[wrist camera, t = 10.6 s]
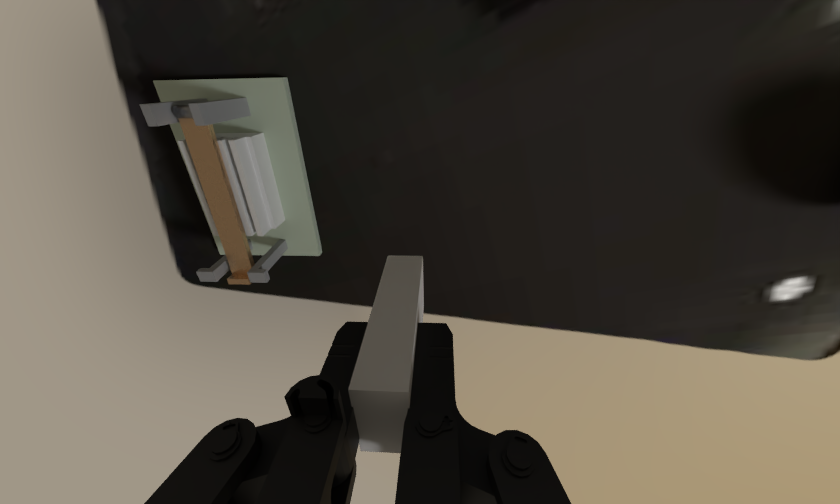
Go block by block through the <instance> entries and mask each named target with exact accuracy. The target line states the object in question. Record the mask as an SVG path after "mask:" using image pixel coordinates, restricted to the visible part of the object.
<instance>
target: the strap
mask: <svg viewBox="0 0 840 504" xmlns="http://www.w3.org/2000/svg"><path fill="white" fill-rule="evenodd" d="M173 114H174V116H175V117H176V118H177V119H179V122H180V125H181V128H182V131H183V134H184V136H185V139H186V142H187V145H188V148H189V151H190V154H191V157H192V159H193V162H194V165H195V168H196V171H197V174H198V177H199V180H200V182H201V185H202V188H203V191H204V194H205V197H206V200H207V203H208V205H209V208H210V211H211V214H212V217H213V220H214V223H215V226H216V228H217V231H218V234H219V237H220V240H221V243H222V246H223V249H224V251H225V254H226V257H227V260H228V263H229V266H230V269H231V272H232V275H231V276H230V277H229V278H227V280H228V283H229V284H251V283H252V282H250V280H249V277H248V274H247V272H248V271H249V270H250V269H251V268H252V267H253V266H254V265H255V264H254V260H253V257H252V254H251V250H250V247H249V244H248V241H247V237H246V234H245V231H244V227H243V224H242V221H241V218H240V214H239V211H238V208H237V204H236V201H235V198H234V194H233V191H232V188H231V185H230V181H229V178H228V175H227V171H226V168H225V165H224V162H223V158H222V155H221V152H220V148H219V145H218V142H217V138H216V135H215V132H214V129H213V125H212V124H210V125H206V126H196V125H195V122H194V119H193V116H192V113H191V110H190V107H189V105H174V106H173Z"/></svg>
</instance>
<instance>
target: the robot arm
mask: <svg viewBox="0 0 840 504" xmlns="http://www.w3.org/2000/svg"><path fill="white" fill-rule="evenodd" d="M423 309H424V294H423V256H388V257H387V261H386V264H385V267H384V271H383V274H382V277H381V281H380V284H379V287H378V291H377V294H376V298H375V301H374V304H373V308H372V311H371V314H370V318H369V321H368V322H346V323H345V324H344V325H343V326H342V327H341V328H340V329H339V331H338V332H337V333H336V336H335V339H334V341H333V343H332V346H331V348H330V351H329V353H328V357H327V358H326V361H325V363H324V365H323V368H322V371H321V373H320V375H317V376H310V377H307V378H305V379H303V380H300V381H299V382H298V383H296V384H295V385H294V386H293V387H291V389H290V390H289V392H288V393H287V394H286V395H285V400H286V402H287V405H288V408H289V410H290V414H291V416H290V417H288V418H285V419H283V420H280V421H277V422H273V423H269V424H265V425H262V426H258V427H255V425H254V424H253V423H252V422H251V421H249V420H248V419H242V418H236V419H232V420H228V421H225V422H224V423H222V424H220V425H218V426H216V427H215V428H213V429H212V430H211V431H210V432H209V433H208V434H207V435H206V436H204V438H203V439H202V440H201V441H200V442H199V443H198V444H197V445H196V446H195V448H194V449H193V450H192V451H191V452H190V453H189V454H188V455H187V457H186V458H185V459H184V460H183V461H182V462H181V463H180V464H179V465H178V467H177V468H176V469H175V470H174V471H173V472H172V473H171V474H170V476H169V477H168V478H167V479H166V480H165V481H164V483H162V484H161V486H160V487H159V488H158V489H157V490H156V491H155V492H154V493H153V495H152V496H151V497H150V498H149V499H148V500H147V501H146V502H145V503H144V504H350V501H351V496H352V491H353V486H354V482H355V477H356V461H355V457H356V453H357V448H358V444H359V445H360V449H361V451H370V452H390V453H401V456H400V465H399V473H398V482H397V491H396V500H395V504H571V502H570V500H569V499H568V497H567V494H566V492H565V490H564V489H563V486H562V484H561V482H560V480H559V479H558V476H557V475H556V472H555V471H554V469H553V467H552V465H551V463H550V461H549V459H548V457H547V455H546V453H545V451H544V450H543V449H542V447H541V446H540V444H539V443H538V442H537V441H536V440H534V439H533V438H532V437H531V436H529V435H528V434H525V433H523V432H520V431H517V430H505V431H503V432H501V433H499V434H497V435H496V436H495V435H493V434H490V433H488V432H485V431H482V430H480V429H478V428H476V427H474V426H472V425H470V424H469V423H468V422H467V421H466V420H464V418H463V417H462V416H461V414H460V413H459V411H458V409H457V406H456V401H455V383H454V382H455V381H454V356H453V334H452V332H451V331H450V329H449V327H448V326H447V324H446V323H422V322H423Z"/></svg>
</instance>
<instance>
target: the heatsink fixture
mask: <svg viewBox="0 0 840 504" xmlns="http://www.w3.org/2000/svg"><path fill="white" fill-rule="evenodd" d="M153 83H154V85H155V88H156V90H157V93H158V96H159V98H160V101H161V102H159V103H149V104H140V107H141V109H142V112H143V114H144V116H145V119H146V121H147V124H148V126H162V125H167V124H170V126H171V129H172V132H173V134H174V137H175V139H176V142H177V144H178V147H179V150H180V152H181V155H182V157H183V160H184V163H185V165H186V168H187V170H188V173H189V175H190V178H191V181H192V183H193V186H194V188H195V191H196V193H197V196H198V199H199V201H200V204H201V206H202V209H203V211H204V214H205V217H206V219H207V222H208V224H209V227H210V229H211V232H212V235H213V237H214V240H215V242H216V245H217V247H218V250H219V253H220V255H225V256H224V257H222V258H221V259H220V260H219V261H218V262H216V263H215V264H214V265H213V266H212V267H210V268H200V269H199V270H198V271H196V272H197V275H198V277H199V279H200V281H209V282H217V281H218V280H219V279H220V278H221V277H222V276H223V275H225V274H226V273H227V272H228V271H229V270H230V266H229V263H228V260H227V257H226V254H225V251H224V249H223V246H222V243H221V240H220V237H219V234H218V231H217V228H216V226H215V223H214V220H213V217H212V214H211V211H210V208H209V205H208V203H207V200H206V197H205V194H204V191H203V188H202V185H201V182H200V180H199V177H198V174H197V171H196V168H195V165H194V162H193V159H192V157H191V154H190V151H189V148H188V145H187V142H186V139H185V136H184V134H183V131H182V128H181V125H180V122H179V119H177V118H176V117H175V116H174V114H173V106H174V105H189V107H190V110H191V113H192V116H193V119H194V122H195V125H196V126H206V125H210V124H212V125H213V129H214V132H215V135H216V138H217V142H218V145H219V148H220V152H221V155H222V158H223V162H224V165H225V168H226V171H227V175H228V178H229V181H230V185H231V188H232V191H233V194H234V198H235V201H236V204H237V208H238V211H239V214H240V218H241V221H242V224H243V227H244V231H245V234H246V237H247V241H248V244H249V247H250V250H251V254H252V255H264V256H263V257H262V258H261V259H260V260H259V261H258V262H257V263H256V264H255V265H254V266H253V267H252V268H251V269H250V270H249V271H248V272H247V274H248V277H249V280H250V282H260V283H267V282H268V281H269V280H270V278H269V275H268V270H269V269H270V268H271V267H272V266H273V265H274V264H275V262H276V261H277V260H278V259H279V258H280V257H281V256H282V255H292V256H320V255H321V253H322V248H321V243H320V238H319V233H318V228H317V223H316V218H315V213H314V208H313V203H312V199H311V194H310V189H309V184H308V179H307V174H306V169H305V164H304V159H303V154H302V149H301V144H300V139H299V134H298V129H297V124H296V119H295V114H294V109H293V104H292V99H291V94H290V89H289V84H288V79H287V77H286V78H243V79H200V80H157V81H153Z"/></svg>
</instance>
